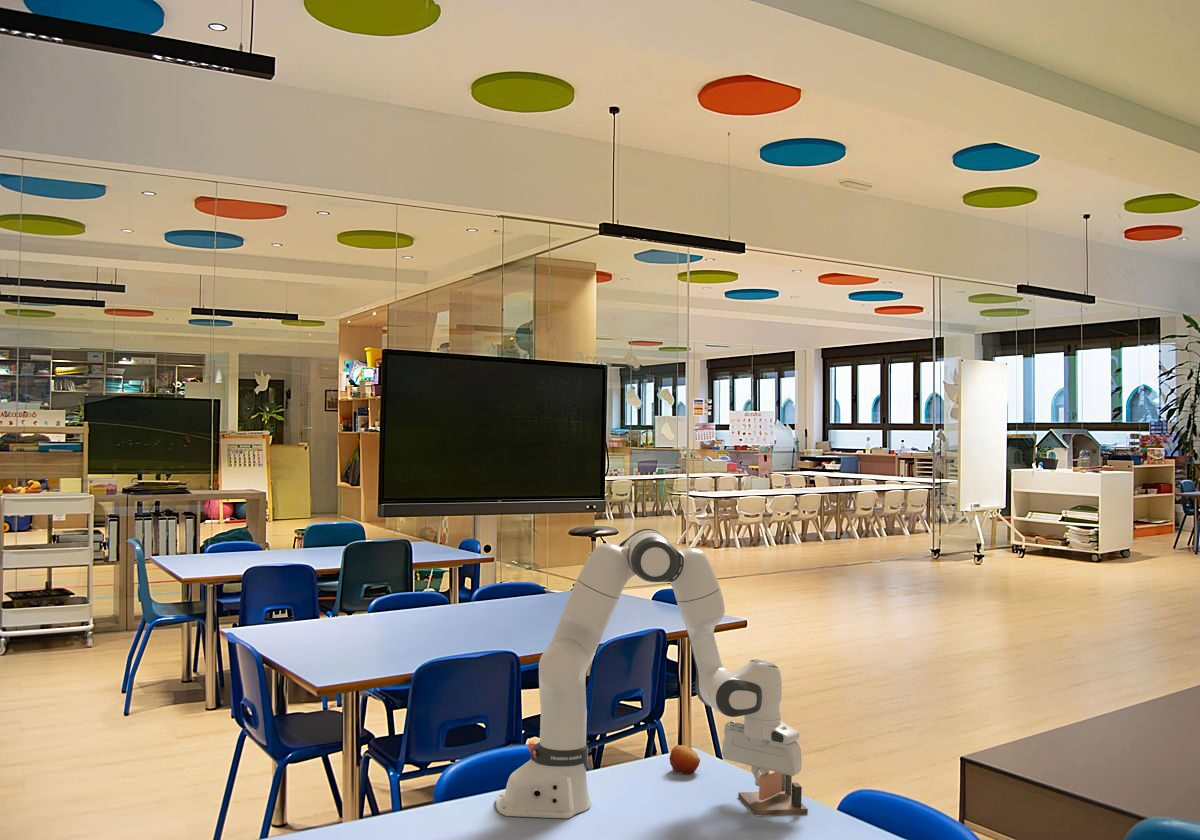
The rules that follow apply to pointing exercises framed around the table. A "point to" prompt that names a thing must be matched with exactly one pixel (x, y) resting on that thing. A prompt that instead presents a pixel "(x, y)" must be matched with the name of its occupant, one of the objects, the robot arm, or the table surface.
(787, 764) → the robot arm
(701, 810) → the table surface
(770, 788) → the gate
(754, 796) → the gate frame
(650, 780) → the table surface
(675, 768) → the fruit
